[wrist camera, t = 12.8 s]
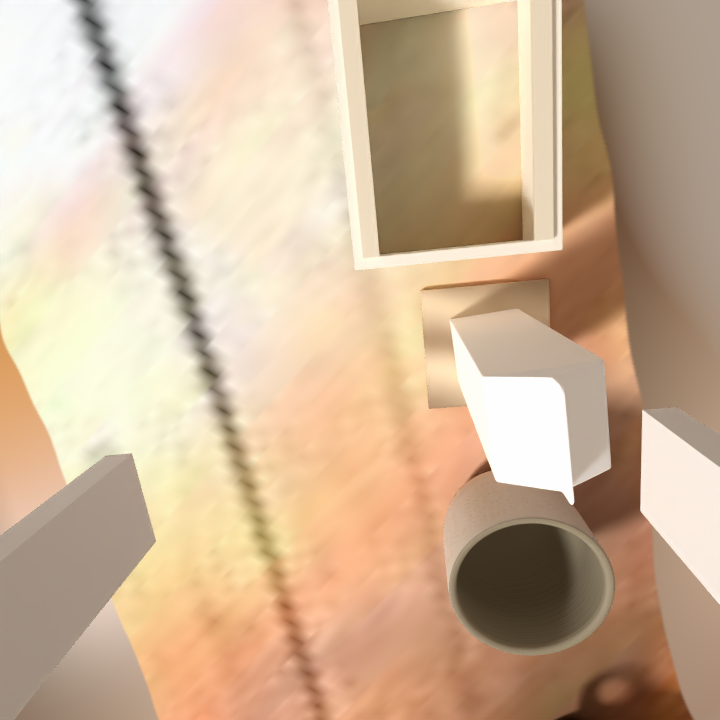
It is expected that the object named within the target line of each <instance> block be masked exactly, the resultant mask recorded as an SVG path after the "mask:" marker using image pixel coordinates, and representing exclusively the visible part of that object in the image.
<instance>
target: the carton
mask: <svg viewBox="0 0 720 720" xmlns="http://www.w3.org/2000/svg"><path fill="white" fill-rule="evenodd" d="M510 1H516V0H328V10H329V20H330V30H331V39H332V49H333V59H334V69H335V78H336V88H337V98H338V108H339V118H340V127H341V137H342V147H343V157H344V167H345V176H346V186H347V196H348V206H349V216H350V225H351V235H352V245H353V255H354V265H355V270H363V269H373V268H383V267H393V266H403V265H413V264H424V263H434V262H444V261H454V260H464V259H474V258H484V257H494V256H505V255H515V254H525V253H535V252H545V251H555V250H562V0H518V35H519V82H520V128H521V174H522V221H523V240H517V241H507V242H497V243H487V244H478V245H468V246H458V247H448V248H438V249H429V250H419V251H409V252H399V253H389V254H380V252H379V241H378V229H377V218H376V207H375V196H374V185H373V174H372V163H371V151H370V140H369V129H368V118H367V107H366V96H365V85H364V73H363V62H362V51H361V40H360V29H359V25H364V24H371V23H377V22H383V21H390V20H396V19H402V18H409V17H415V16H421V15H428V14H434V13H440V12H446V11H453V10H459V9H465V8H472V7H478V6H484V5H491V4H497V3H503V2H510Z"/></svg>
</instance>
